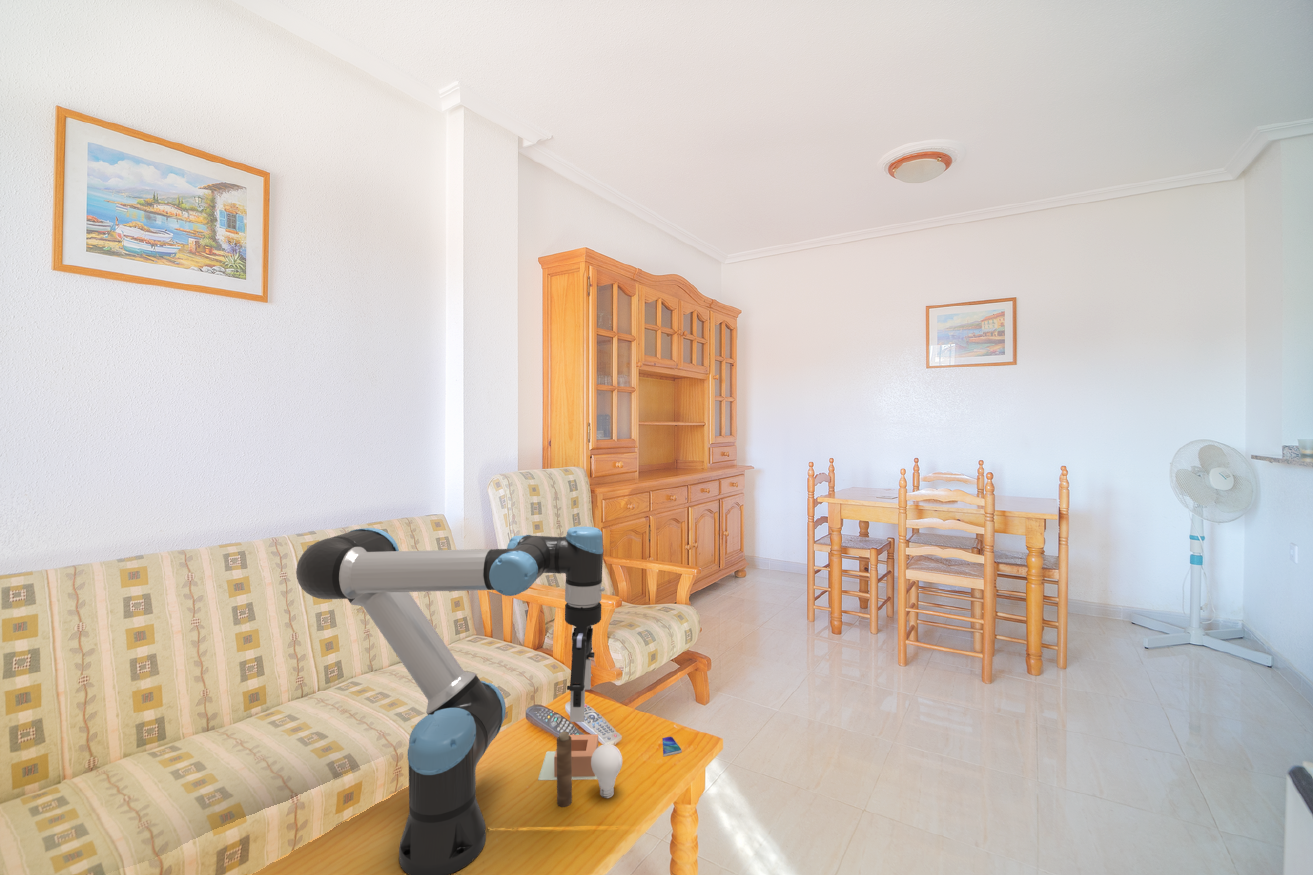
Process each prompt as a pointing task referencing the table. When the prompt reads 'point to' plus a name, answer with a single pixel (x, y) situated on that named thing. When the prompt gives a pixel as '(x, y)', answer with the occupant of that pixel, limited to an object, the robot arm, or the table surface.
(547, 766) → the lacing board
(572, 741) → the terracotta hollow block
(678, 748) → the smartphone
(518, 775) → the table surface
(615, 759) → the light bulb
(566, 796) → the dark brown rod
